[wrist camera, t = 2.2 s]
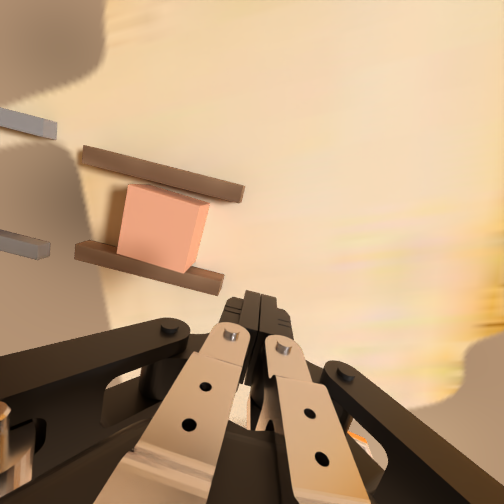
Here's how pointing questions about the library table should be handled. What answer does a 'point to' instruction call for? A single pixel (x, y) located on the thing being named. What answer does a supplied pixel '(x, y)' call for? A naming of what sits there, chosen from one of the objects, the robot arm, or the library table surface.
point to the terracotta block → (161, 227)
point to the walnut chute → (167, 176)
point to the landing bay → (38, 127)
